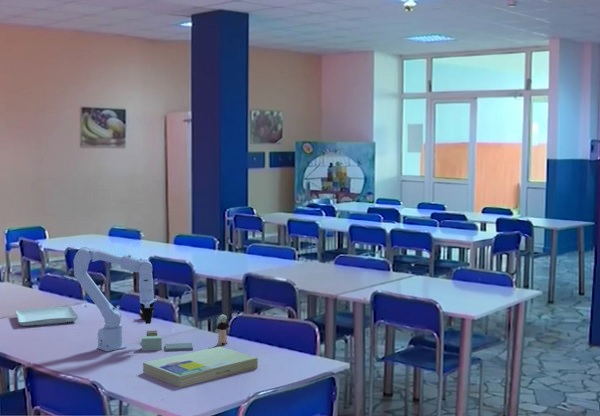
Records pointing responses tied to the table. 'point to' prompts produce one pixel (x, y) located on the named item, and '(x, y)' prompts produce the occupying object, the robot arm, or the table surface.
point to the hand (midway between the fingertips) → (148, 321)
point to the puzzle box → (199, 366)
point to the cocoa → (142, 313)
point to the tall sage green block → (151, 343)
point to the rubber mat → (178, 346)
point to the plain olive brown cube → (151, 333)
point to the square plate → (46, 316)
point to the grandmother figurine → (222, 330)
